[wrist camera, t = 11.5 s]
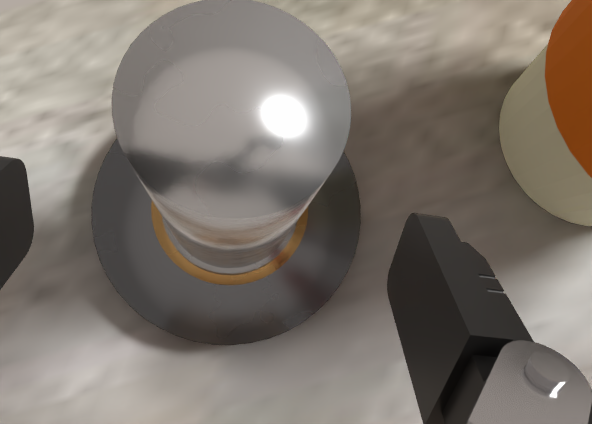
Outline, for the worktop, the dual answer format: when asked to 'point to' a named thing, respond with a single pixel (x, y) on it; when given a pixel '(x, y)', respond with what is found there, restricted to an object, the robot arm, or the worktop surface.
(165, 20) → the clear tapered piece
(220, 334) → the round grey coaster
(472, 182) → the worktop surface
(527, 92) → the reusable coffee cup
